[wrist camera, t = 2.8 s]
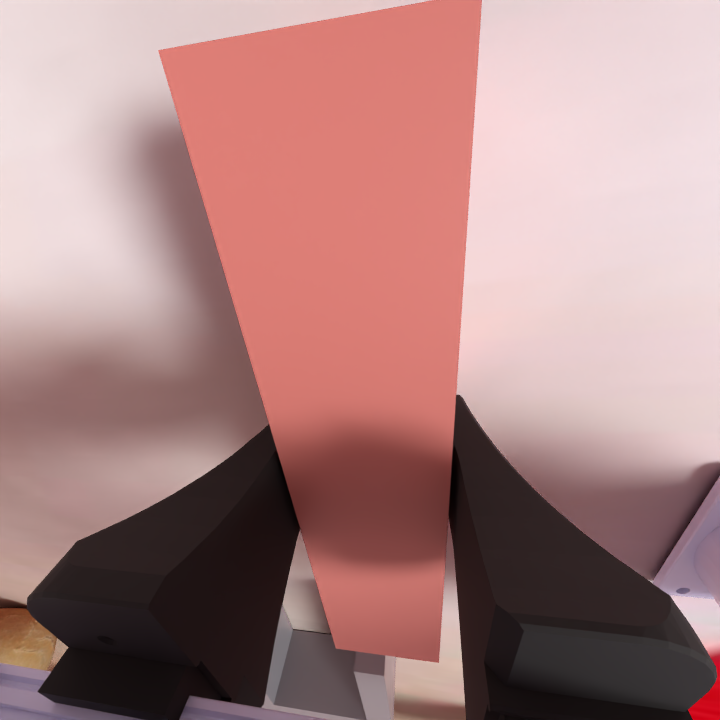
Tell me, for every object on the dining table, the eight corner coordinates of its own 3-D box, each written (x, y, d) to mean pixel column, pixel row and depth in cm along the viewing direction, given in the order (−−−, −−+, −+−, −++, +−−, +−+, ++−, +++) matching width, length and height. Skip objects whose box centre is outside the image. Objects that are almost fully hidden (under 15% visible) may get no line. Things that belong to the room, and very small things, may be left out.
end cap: (389, 586, 20) (384, 676, 16) (396, 651, 24) (392, 732, 21) (247, 572, 21) (215, 651, 18) (278, 636, 26) (257, 709, 22)
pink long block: (445, 81, 8) (482, -8, 4) (432, 536, 17) (438, 662, 13) (285, 104, 9) (159, 50, 4) (354, 530, 18) (335, 648, 13)
